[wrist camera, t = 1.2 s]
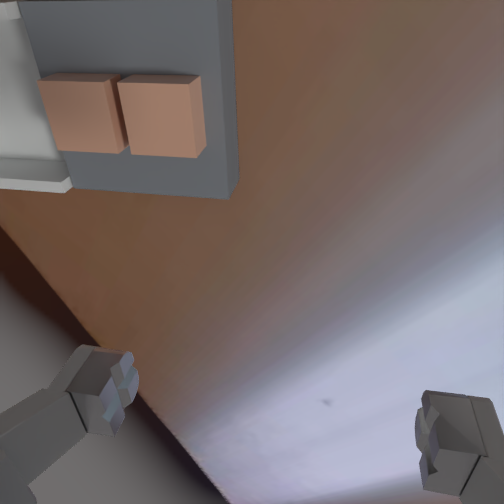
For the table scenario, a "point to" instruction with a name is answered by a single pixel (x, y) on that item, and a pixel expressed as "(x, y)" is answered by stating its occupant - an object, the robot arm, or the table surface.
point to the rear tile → (85, 112)
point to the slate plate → (149, 63)
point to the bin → (25, 114)
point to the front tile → (163, 114)
